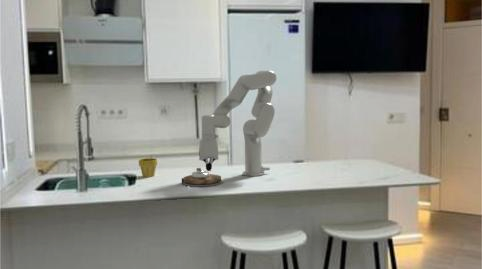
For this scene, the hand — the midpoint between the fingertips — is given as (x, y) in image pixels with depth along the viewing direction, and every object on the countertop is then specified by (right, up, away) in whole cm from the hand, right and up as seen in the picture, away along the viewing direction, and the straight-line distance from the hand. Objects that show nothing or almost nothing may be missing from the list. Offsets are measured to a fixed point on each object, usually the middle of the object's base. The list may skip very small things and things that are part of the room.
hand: (208, 170), depth 271 cm
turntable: (-3, -5, -10) cm, 11 cm away
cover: (-4, -3, -10) cm, 11 cm away
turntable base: (-3, -6, -9) cm, 11 cm away
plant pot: (-36, -4, +13) cm, 38 cm away
